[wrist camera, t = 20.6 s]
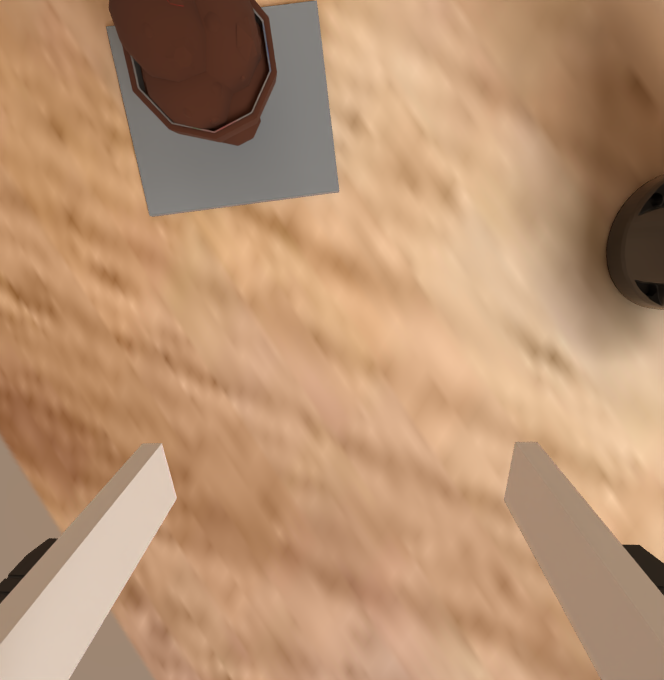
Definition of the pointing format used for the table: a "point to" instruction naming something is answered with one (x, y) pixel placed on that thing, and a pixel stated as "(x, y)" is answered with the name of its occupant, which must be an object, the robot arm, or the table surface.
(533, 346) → the table surface
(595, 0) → the table surface
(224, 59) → the ice cream bowl
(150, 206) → the grey mat
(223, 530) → the table surface
